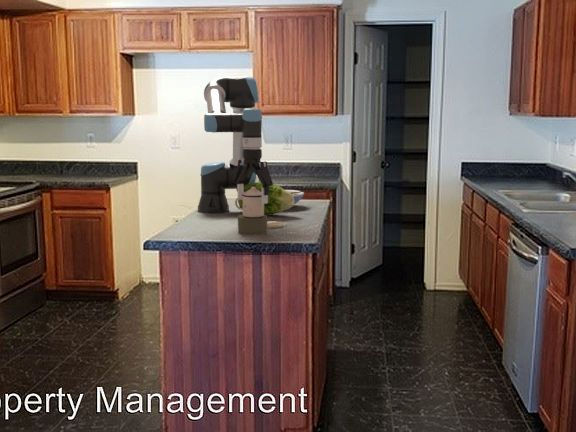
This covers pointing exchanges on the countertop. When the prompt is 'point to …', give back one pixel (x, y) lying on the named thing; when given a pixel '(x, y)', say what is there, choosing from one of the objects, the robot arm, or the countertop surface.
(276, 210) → the lettuce
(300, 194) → the ramen bowl
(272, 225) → the beech coaster
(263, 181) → the robot arm
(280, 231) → the countertop surface
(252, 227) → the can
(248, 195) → the teacup with lid
